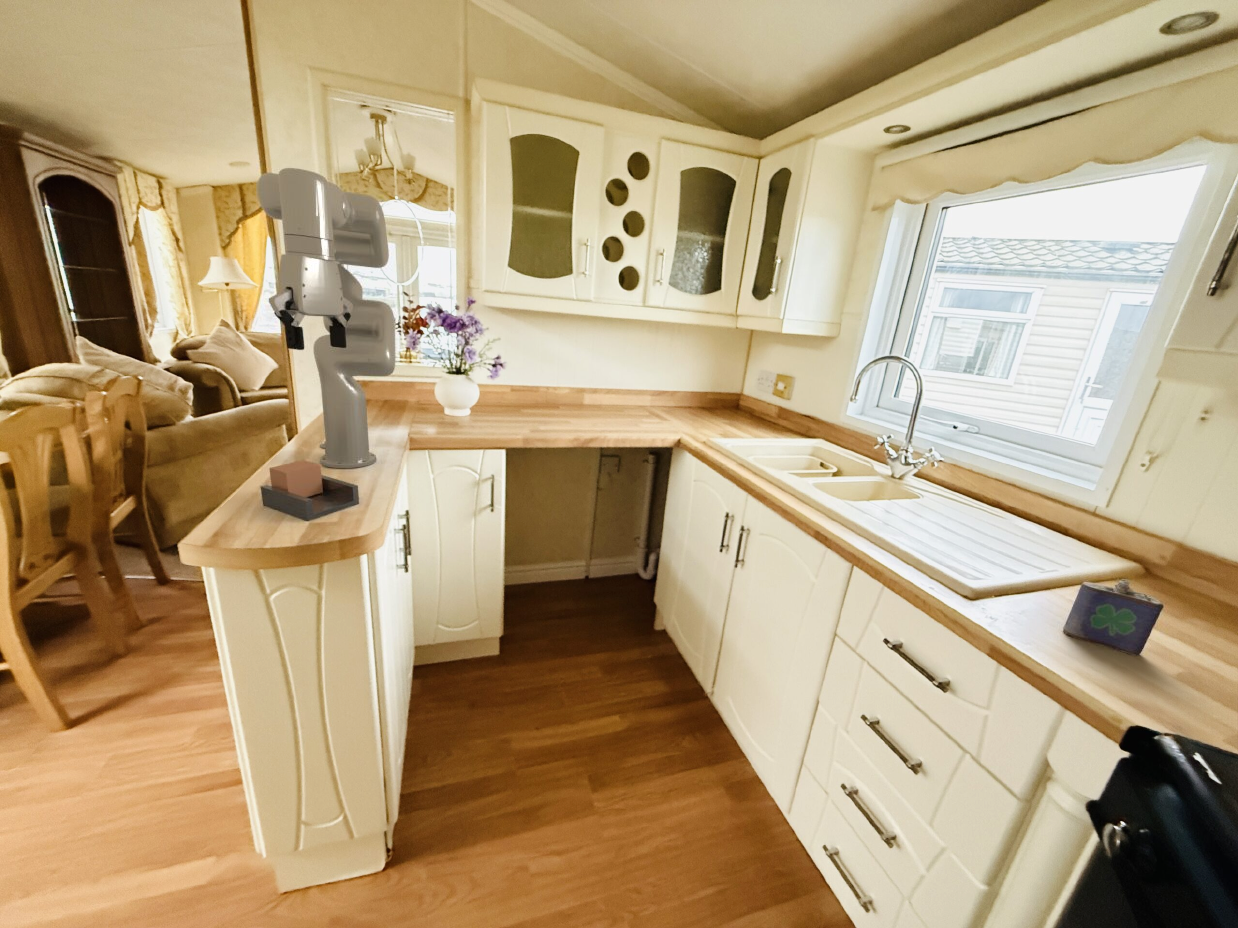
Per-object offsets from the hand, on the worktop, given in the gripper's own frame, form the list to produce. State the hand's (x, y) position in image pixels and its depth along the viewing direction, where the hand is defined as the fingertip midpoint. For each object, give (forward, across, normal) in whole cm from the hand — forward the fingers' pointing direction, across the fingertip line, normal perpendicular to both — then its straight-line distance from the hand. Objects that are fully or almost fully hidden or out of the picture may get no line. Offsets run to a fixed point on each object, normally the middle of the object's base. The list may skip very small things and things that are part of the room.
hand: (318, 348), depth 92 cm
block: (+30, +2, -6) cm, 30 cm away
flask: (+31, -6, +138) cm, 141 cm away
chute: (+31, +2, -2) cm, 31 cm away
